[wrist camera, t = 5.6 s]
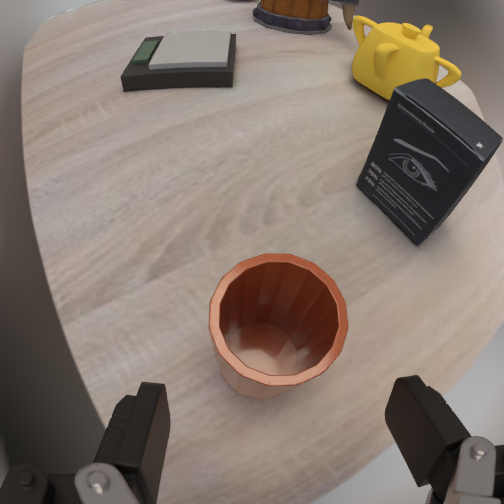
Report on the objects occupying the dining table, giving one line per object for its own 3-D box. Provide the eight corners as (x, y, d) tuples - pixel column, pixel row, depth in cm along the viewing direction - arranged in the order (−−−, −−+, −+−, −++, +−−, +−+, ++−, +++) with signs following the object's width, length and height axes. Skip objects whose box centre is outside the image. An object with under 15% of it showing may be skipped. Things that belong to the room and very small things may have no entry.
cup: (217, 398, 18) (207, 385, 10) (219, 319, 21) (212, 251, 13) (302, 397, 18) (353, 381, 11) (298, 319, 21) (339, 254, 13)
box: (445, 220, 26) (508, 139, 17) (416, 250, 24) (488, 162, 15) (387, 163, 29) (429, 74, 20) (352, 184, 27) (394, 83, 18)
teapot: (337, 55, 40) (351, -3, 31) (413, 73, 41) (432, 22, 32) (356, 105, 34) (379, 30, 25) (444, 126, 34) (476, 65, 25)
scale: (123, 91, 33) (119, 71, 30) (147, 50, 39) (144, 33, 36) (232, 87, 34) (232, 65, 31) (235, 46, 39) (236, 29, 37)
